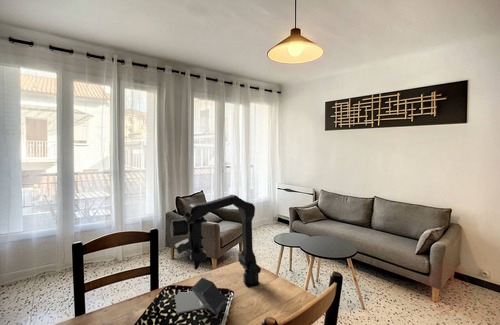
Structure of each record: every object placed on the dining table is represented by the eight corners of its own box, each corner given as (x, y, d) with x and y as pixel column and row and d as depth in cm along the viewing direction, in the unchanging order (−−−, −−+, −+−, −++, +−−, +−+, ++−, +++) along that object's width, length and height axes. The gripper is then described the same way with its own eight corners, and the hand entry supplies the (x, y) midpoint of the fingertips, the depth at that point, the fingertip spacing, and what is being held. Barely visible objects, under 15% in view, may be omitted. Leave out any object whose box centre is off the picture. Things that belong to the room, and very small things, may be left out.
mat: (199, 289, 120) (199, 286, 120) (204, 308, 105) (204, 304, 105) (174, 293, 116) (174, 290, 116) (176, 313, 101) (176, 310, 101)
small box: (228, 301, 100) (213, 281, 98) (217, 316, 97) (201, 295, 95) (216, 294, 109) (202, 276, 107) (204, 308, 105) (189, 289, 103)
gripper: (174, 229, 118) (175, 263, 119) (177, 242, 101) (178, 282, 101) (199, 227, 122) (199, 260, 122) (206, 238, 104) (207, 277, 105)
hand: (196, 269), depth 112 cm, fingers closed
